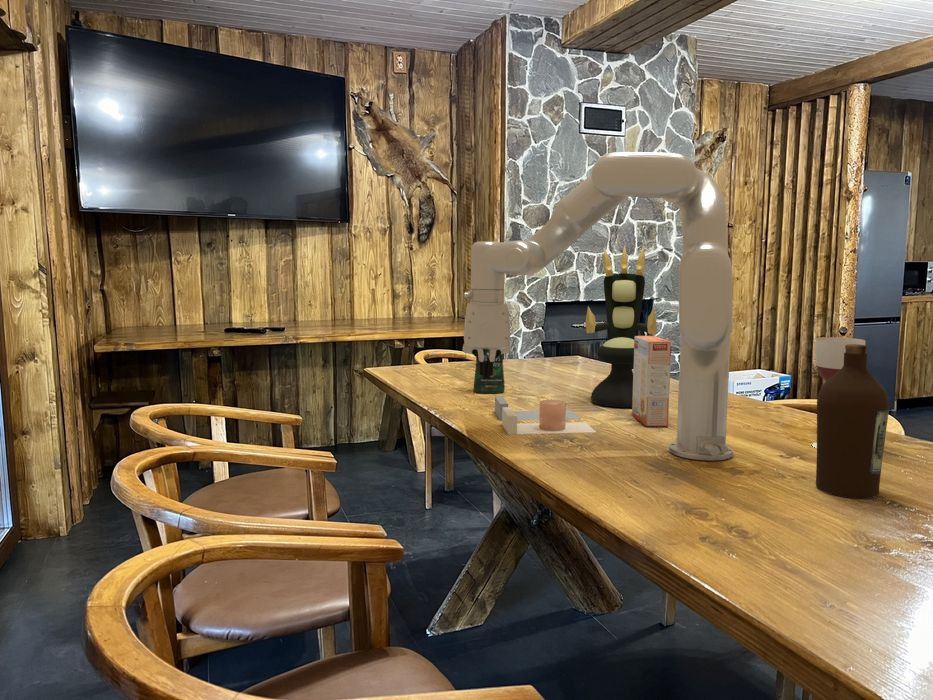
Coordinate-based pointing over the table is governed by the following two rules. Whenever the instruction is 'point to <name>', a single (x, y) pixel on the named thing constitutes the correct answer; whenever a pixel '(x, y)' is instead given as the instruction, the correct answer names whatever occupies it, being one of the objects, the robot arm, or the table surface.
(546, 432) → the strip
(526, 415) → the grey blocky piece
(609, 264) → the black throne chair
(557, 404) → the canister
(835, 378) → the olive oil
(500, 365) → the coffee jar
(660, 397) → the cracker box
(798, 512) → the table surface
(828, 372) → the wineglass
